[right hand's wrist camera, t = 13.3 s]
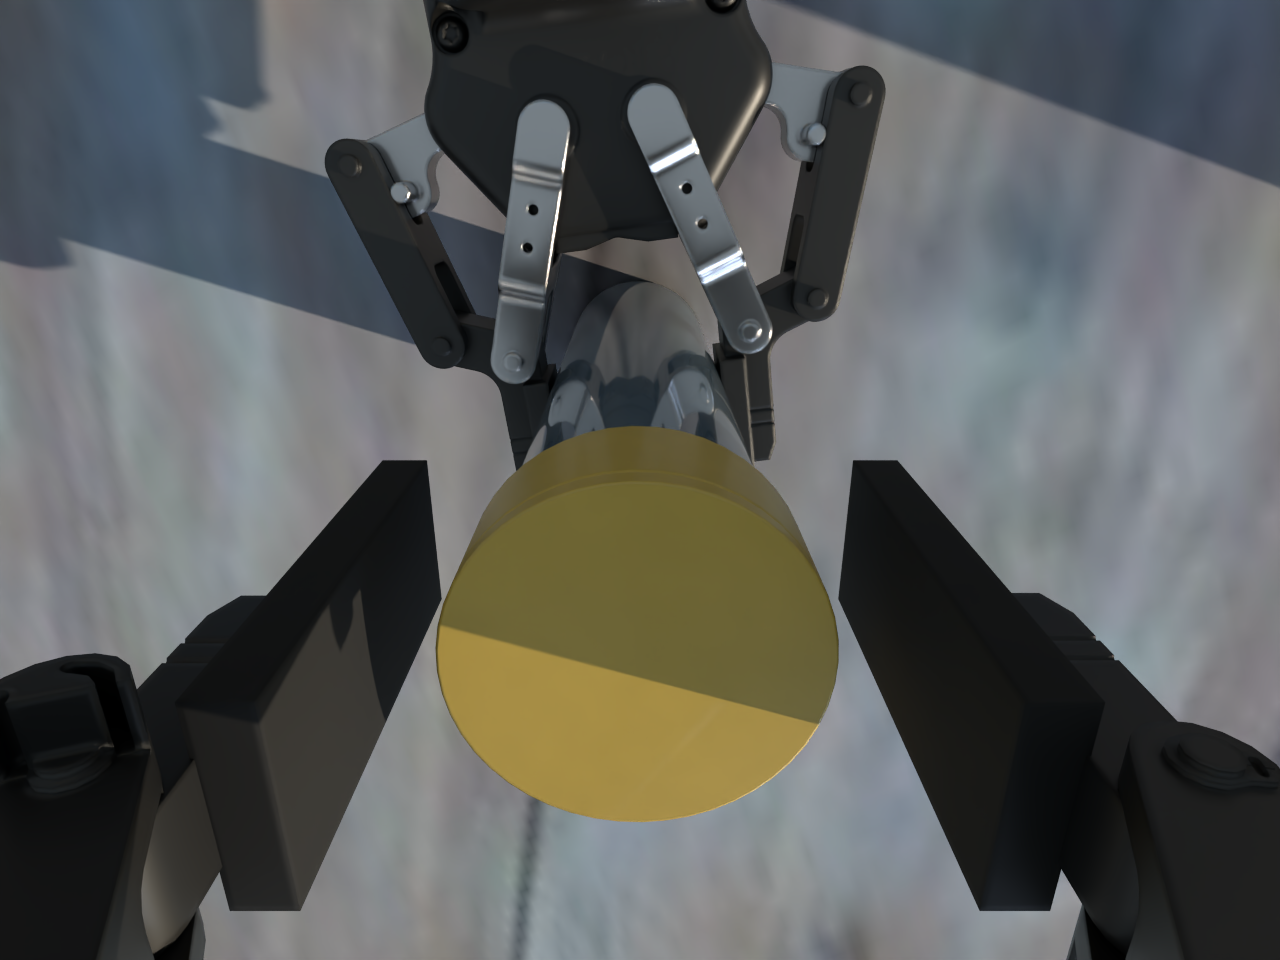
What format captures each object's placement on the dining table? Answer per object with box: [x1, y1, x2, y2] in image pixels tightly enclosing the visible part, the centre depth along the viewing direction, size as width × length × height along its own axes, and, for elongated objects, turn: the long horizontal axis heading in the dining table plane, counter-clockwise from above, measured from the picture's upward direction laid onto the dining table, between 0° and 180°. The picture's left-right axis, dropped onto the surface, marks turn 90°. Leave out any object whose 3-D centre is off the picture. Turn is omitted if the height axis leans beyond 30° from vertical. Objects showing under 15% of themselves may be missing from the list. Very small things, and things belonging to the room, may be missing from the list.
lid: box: [436, 426, 839, 822], centre depth 11 cm, size 5×5×2 cm
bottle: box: [522, 281, 754, 467], centre depth 20 cm, size 5×5×19 cm
